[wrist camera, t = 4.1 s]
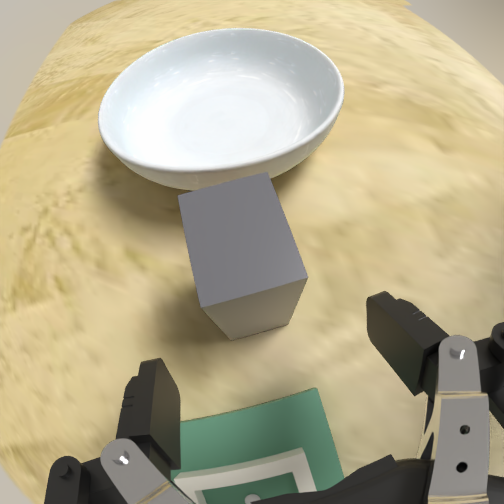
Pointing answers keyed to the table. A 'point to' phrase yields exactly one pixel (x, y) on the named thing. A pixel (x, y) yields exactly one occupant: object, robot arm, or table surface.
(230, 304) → the gray rectangular block
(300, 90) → the serving bowl
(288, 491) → the board
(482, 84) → the table surface
